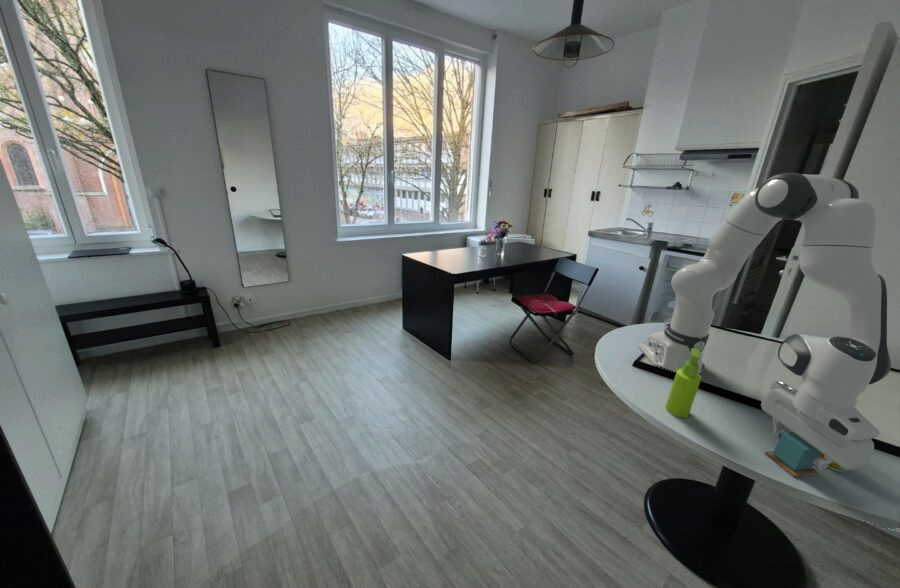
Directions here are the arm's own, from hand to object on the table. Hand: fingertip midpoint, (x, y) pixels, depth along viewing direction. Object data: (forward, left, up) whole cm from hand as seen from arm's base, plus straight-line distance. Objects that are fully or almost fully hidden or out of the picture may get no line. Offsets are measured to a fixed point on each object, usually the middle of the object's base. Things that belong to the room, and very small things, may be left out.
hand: (797, 450), depth 83 cm
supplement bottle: (+1, +10, -4) cm, 11 cm away
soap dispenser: (-21, -14, -4) cm, 26 cm away
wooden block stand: (0, 0, -4) cm, 4 cm away
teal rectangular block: (0, 0, -3) cm, 3 cm away
